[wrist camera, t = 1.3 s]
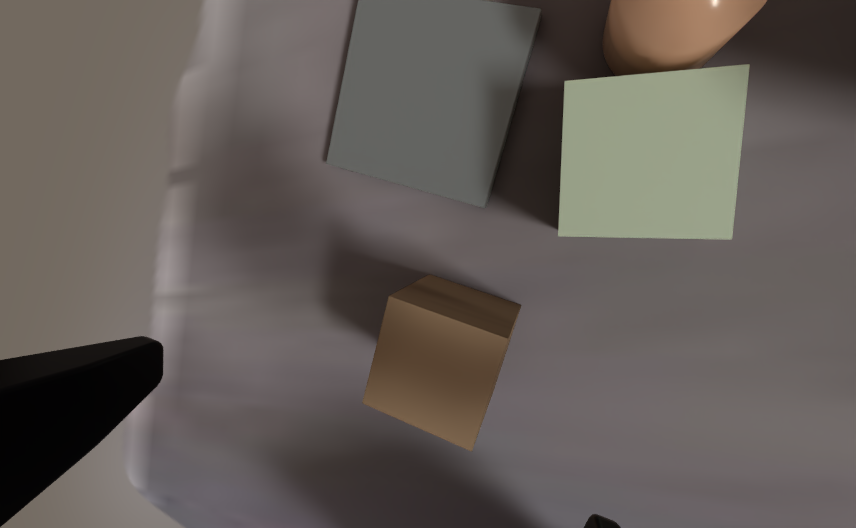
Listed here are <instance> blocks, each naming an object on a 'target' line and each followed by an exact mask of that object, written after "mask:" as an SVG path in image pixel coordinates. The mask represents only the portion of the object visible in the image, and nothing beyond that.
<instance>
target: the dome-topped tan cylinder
mask: <svg viewBox="0 0 856 528" xmlns="http://www.w3.org/2000/svg"><path fill="white" fill-rule="evenodd" d="M766 2H767V0H611V3H610V7H609V12H608V16H607V20H606V24H605V29H604V33H603V53H604V57H605V60H606V62H607V64H608V66H609V68H610V69H611V71H612V72H613V73H614V74H615V75H616V76H625V75H635V74H646V73H657V72H668V71H679V70H690V69H700V68H701V67H702V66H703V65H705V64H706V63H707V62H708V61H709V60H710V59H711V58H712V57H713V56H714V55H715V54H716V53H717V52H718V51H719V50H720V49H721V48H722V47H723V46H724V45H725V44H726V43H727V42H728V41H729V40H730V39H731V38H732V37H733V36H734V35H735V34H736V33H737V32H738V31H739V30H740V29H741V28H742V27H743V26H744V25H745V24H746V23H747V22H748V21H749V20H750V19H751V18H752V17H753V16H754V15H755V14H756V13H757V12H758V11H759V10H760V9H761V8H762V7H763V5H764V4H765V3H766Z"/></svg>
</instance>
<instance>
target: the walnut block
mask: <svg viewBox="0 0 856 528" xmlns="http://www.w3.org/2000/svg"><path fill="white" fill-rule="evenodd" d="M520 308H521V305H520V304H517V303H514V302H511V301H508V300H505V299H502V298H499V297H496V296H493V295H490V294H487V293H484V292H481V291H478V290H475V289H472V288H469V287H466V286H463V285H460V284H457V283H454V282H451V281H448V280H445V279H442V278H439V277H436V276H433V275H430V274H429V275H427V276H426V277H424V278H422V279H420V280H418V281H416V282H414V283H412V284H410V285H409V286H407V287H405V288H403V289H401V290H399V291H397V292H395V293H393V294H392V295H390V296H389V297H388V301H387V305H386V309H385V313H384V317H383V321H382V325H381V329H380V333H379V338H378V342H377V346H376V350H375V354H374V358H373V362H372V366H371V370H370V374H369V378H368V382H367V386H366V390H365V394H364V398H363V402H362V403H363V404H365V405H368V406H370V407H372V408H374V409H377V410H379V411H381V412H383V413H386V414H388V415H390V416H393V417H395V418H397V419H399V420H402V421H404V422H406V423H408V424H411V425H413V426H415V427H417V428H420V429H422V430H424V431H426V432H429V433H431V434H433V435H435V436H438V437H440V438H442V439H444V440H447V441H449V442H451V443H453V444H456V445H458V446H460V447H463V448H465V449H467V450H469V451H472V449H473V447H474V444H475V441H476V438H477V435H478V433H479V430H480V427H481V424H482V422H483V419H484V416H485V413H486V410H487V408H488V405H489V402H490V399H491V397H492V394H493V391H494V388H495V385H496V382H497V379H498V375H499V372H500V369H501V366H502V363H503V360H504V357H505V354H506V351H507V348H508V345H509V342H510V339H511V335H512V332H513V329H514V326H515V323H516V320H517V317H518V314H519V311H520Z"/></svg>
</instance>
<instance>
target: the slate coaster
mask: <svg viewBox="0 0 856 528" xmlns="http://www.w3.org/2000/svg"><path fill="white" fill-rule="evenodd" d="M541 17H542V11H541V9H540V8H533V7H526V6H519V5H512V4H505V3H498V2H491V1H484V0H358V4H357V9H356V14H355V19H354V24H353V30H352V35H351V40H350V45H349V50H348V55H347V60H346V65H345V70H344V75H343V81H342V86H341V91H340V96H339V101H338V106H337V111H336V116H335V121H334V126H333V131H332V137H331V142H330V147H329V152H328V157H327V162H326V164H329V165H332V166H336V167H339V168H343V169H346V170H350V171H354V172H357V173H361V174H364V175H368V176H371V177H375V178H379V179H382V180H386V181H389V182H393V183H396V184H400V185H404V186H407V187H411V188H414V189H418V190H421V191H425V192H429V193H432V194H436V195H439V196H443V197H446V198H450V199H454V200H457V201H461V202H464V203H468V204H471V205H475V206H479V207H482V208H486V207H487V204H488V200H489V197H490V193H491V190H492V187H493V183H494V180H495V176H496V173H497V169H498V166H499V162H500V159H501V155H502V152H503V148H504V145H505V142H506V138H507V135H508V131H509V128H510V124H511V121H512V117H513V114H514V110H515V107H516V103H517V100H518V96H519V93H520V90H521V86H522V83H523V79H524V76H525V72H526V69H527V65H528V62H529V58H530V55H531V51H532V48H533V45H534V41H535V38H536V34H537V31H538V27H539V24H540V20H541Z"/></svg>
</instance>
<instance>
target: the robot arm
mask: <svg viewBox="0 0 856 528" xmlns="http://www.w3.org/2000/svg"><path fill="white" fill-rule="evenodd" d="M162 376H163V346H162V344H161V343H160V342H158V341H156V340H153V339H151V338H148V337H144V336H140V337H134V338H127V339H122V340H116V341H110V342H104V343H98V344H93V345H86V346H80V347H75V348H69V349H63V350H57V351H51V352H45V353H40V354H33V355H28V356H22V357H16V358H10V359H4V360H0V527H1V526H2V525H3V524H5V523H6V522H7V521H8V520H9V519H11V518H12V517H13V516H14V515H15V514H16V513H18V512H19V511H20V510H21V509H22V508H24V507H25V506H26V505H27V504H28V503H29V502H30V501H32V500H33V499H34V498H35V497H37V496H38V495H39V494H40V493H41V492H43V491H44V490H45V489H46V488H47V487H48V486H50V485H51V484H52V483H53V482H54V481H56V480H57V479H58V478H59V477H60V476H61V475H63V474H64V473H65V472H66V471H67V470H69V469H70V468H71V467H72V466H73V465H75V464H76V463H77V462H78V461H79V460H80V459H82V457H84V456H85V455H86V454H87V453H89V452H90V451H91V450H92V449H93V448H94V447H95V446H97V445H98V444H99V443H100V442H101V441H102V440H103V439H104V438H105V437H106V436H107V435H108V434H109V433H110V432H111V431H112V430H113V429H114V428H115V427H116V426H117V425H118V424H119V423H120V422H121V421H122V420H123V419H124V418H125V417H126V416H127V415H128V414H129V413H130V412H131V411H132V410H133V409H134V408H135V407H136V406H137V405H138V404H139V403H140V402H141V401H142V400H143V399H144V398H146V397H147V396H148V395H149V394H150V393H151V392H152V391H153V390H154V389H155V388H156V387H157V385H158V384H159V383H160V381H161V379H162ZM584 528H621V527H620V526H619V525H618V524H617V523H616V522H615V521H612V520H610V519H607V518H605V517H602V516H600V515H597V514H593V515H591V516H590V517H589V519H588V521H587V522H586V524H585V526H584Z"/></svg>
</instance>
